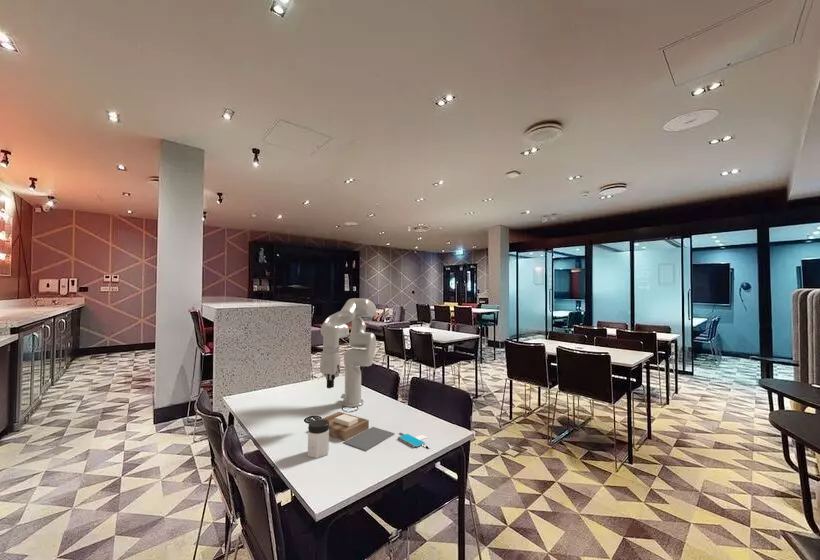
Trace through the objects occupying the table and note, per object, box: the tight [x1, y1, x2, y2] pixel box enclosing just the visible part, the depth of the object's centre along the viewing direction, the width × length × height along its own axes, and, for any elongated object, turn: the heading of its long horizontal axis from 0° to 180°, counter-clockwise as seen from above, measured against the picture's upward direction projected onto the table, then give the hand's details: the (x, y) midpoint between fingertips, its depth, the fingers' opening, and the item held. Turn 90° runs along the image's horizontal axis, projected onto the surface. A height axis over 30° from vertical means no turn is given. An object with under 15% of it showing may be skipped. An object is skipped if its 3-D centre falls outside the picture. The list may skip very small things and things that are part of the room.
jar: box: [307, 418, 330, 459], centre depth 135 cm, size 9×8×12 cm
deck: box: [318, 411, 370, 442], centre depth 158 cm, size 20×16×4 cm
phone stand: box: [397, 432, 428, 449], centre depth 147 cm, size 20×12×2 cm, turn 41°
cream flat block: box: [335, 413, 358, 426], centre depth 157 cm, size 9×6×2 cm, turn 57°
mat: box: [343, 426, 395, 452], centre depth 149 cm, size 13×20×1 cm, turn 147°
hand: (330, 387), depth 163 cm, fingers closed
